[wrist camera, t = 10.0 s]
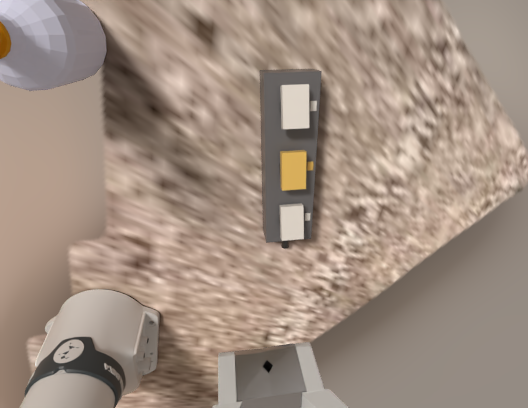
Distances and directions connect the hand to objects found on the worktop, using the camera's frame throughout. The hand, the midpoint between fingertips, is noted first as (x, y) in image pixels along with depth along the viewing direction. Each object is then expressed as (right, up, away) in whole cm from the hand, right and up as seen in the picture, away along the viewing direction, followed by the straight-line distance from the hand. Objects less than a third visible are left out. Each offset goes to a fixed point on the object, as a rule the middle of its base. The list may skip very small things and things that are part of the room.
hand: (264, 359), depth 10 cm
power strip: (+3, +11, +37) cm, 39 cm away
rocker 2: (+4, +10, +32) cm, 34 cm away
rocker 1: (+4, +17, +29) cm, 34 cm away
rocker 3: (+4, +3, +36) cm, 36 cm away
